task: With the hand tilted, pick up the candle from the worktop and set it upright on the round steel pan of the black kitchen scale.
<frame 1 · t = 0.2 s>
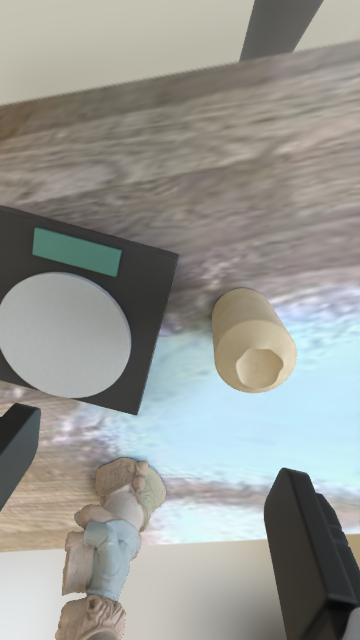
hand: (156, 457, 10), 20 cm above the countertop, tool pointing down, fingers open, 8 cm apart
figurine: (130, 478, 38), on the countertop
candle: (241, 315, 30), on the countertop
kitchen scale: (78, 313, 31), on the countertop
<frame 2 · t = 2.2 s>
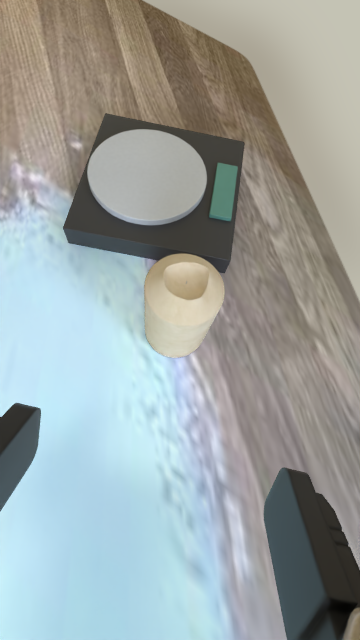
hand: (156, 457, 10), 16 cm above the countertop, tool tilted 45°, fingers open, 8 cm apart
candle: (174, 330, 30), on the countertop
kitchen scale: (161, 197, 35), on the countertop
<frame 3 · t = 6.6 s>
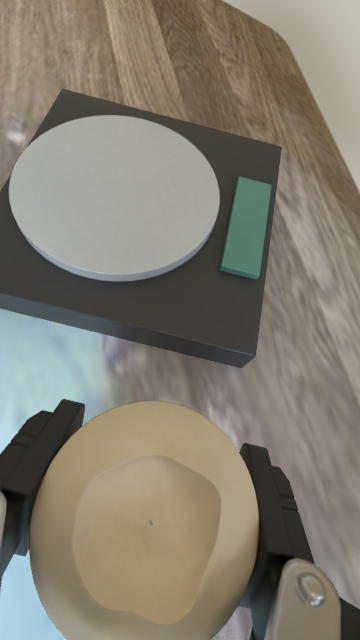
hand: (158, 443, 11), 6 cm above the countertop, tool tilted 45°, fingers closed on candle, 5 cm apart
candle: (143, 485, 16), on the countertop, touching gripper
kitchen scale: (143, 227, 21), on the countertop
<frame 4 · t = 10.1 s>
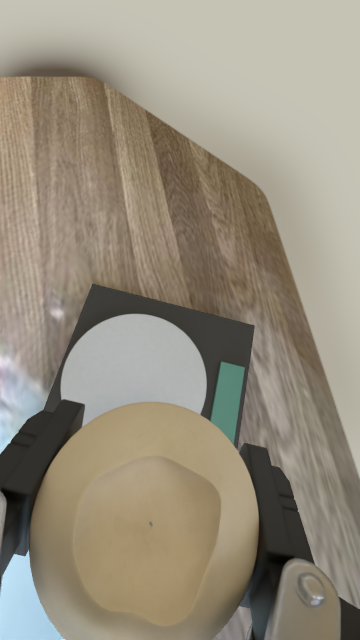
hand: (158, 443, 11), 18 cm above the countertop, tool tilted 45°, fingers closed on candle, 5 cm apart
candle: (143, 485, 16), point 12 cm above the countertop, touching gripper
kitchen scale: (151, 391, 29), on the countertop
when the fingers open (9 cm above the countertop, at t = 14.0 s): candle stays where it is, resting on kitchen scale.
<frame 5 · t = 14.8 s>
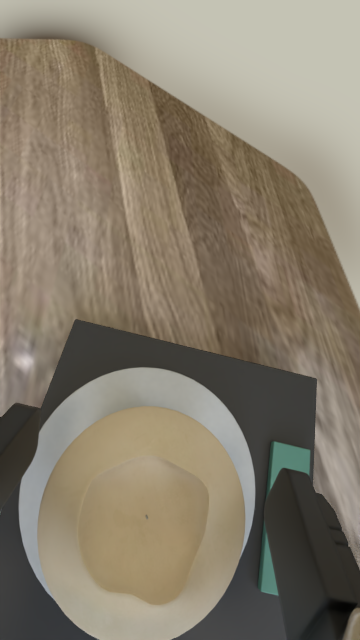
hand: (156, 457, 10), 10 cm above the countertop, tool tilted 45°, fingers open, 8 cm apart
candle: (141, 484, 17), point 3 cm above the countertop, touching kitchen scale
kitchen scale: (165, 482, 19), on the countertop
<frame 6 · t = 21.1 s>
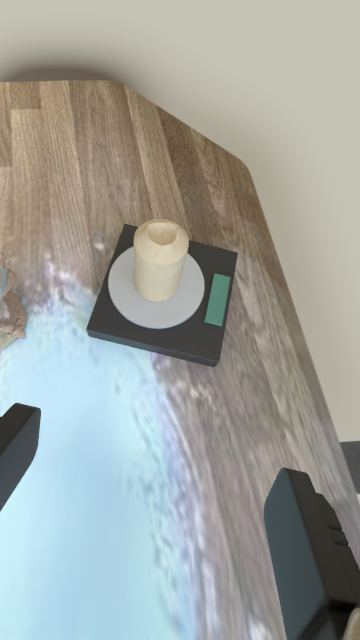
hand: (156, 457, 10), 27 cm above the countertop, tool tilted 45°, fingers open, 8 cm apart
candle: (156, 283, 40), point 3 cm above the countertop, touching kitchen scale
kitchen scale: (166, 296, 43), on the countertop
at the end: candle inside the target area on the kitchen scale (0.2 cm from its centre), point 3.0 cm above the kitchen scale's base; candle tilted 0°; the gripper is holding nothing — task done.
